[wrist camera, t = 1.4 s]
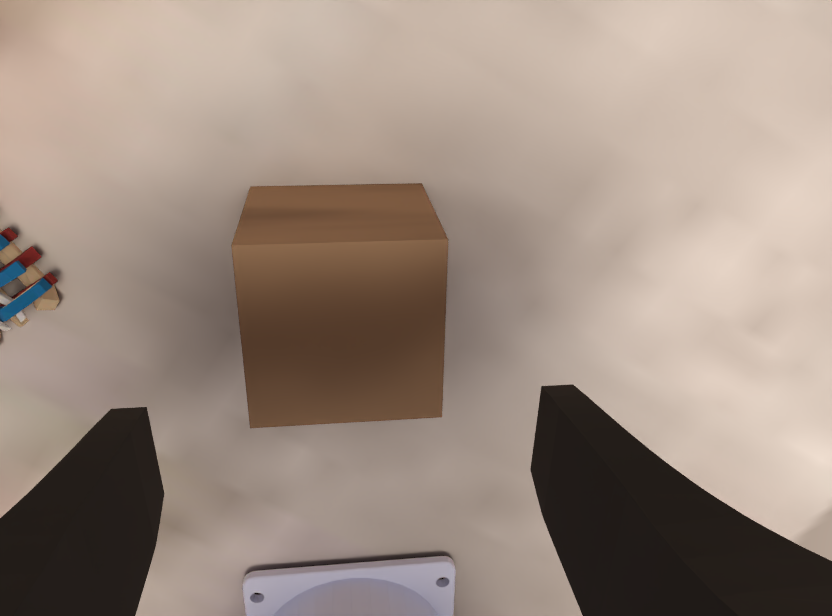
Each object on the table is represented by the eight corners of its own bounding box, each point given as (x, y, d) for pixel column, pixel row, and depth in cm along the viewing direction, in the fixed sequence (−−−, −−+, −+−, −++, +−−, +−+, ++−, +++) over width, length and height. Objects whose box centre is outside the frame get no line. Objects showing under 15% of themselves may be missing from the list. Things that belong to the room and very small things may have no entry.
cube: (418, 331, 23) (441, 417, 19) (263, 337, 23) (249, 427, 18) (421, 182, 21) (448, 239, 17) (250, 185, 21) (231, 245, 16)
